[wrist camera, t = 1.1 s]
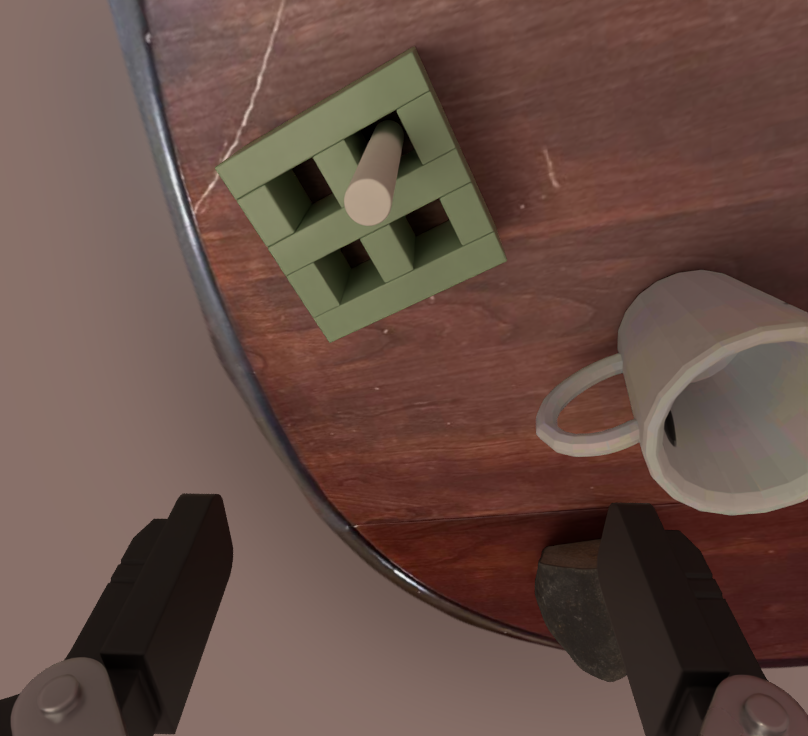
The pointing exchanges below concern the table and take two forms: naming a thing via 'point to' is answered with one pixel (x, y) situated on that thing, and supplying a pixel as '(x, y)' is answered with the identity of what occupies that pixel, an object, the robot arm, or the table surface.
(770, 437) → the mug
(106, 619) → the robot arm
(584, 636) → the stone
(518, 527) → the table surface
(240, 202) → the pen stand
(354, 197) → the stylus
